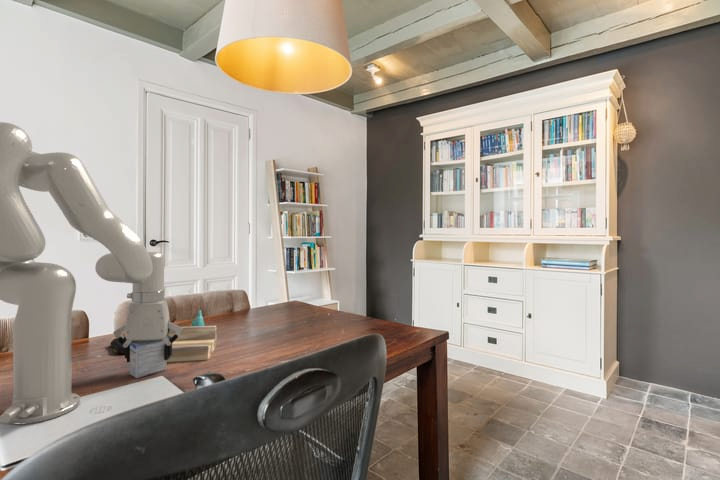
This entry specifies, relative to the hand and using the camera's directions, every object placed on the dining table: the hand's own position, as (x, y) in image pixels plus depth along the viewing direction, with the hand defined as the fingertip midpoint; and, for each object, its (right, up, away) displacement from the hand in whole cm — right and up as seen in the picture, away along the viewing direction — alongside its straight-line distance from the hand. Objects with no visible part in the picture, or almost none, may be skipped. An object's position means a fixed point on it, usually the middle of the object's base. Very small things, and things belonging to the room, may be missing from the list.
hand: (148, 359), depth 103 cm
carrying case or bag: (-18, -3, +21) cm, 28 cm away
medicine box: (0, -4, 0) cm, 4 cm away
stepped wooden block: (+3, -3, +16) cm, 16 cm away
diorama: (-8, -3, +39) cm, 40 cm away
